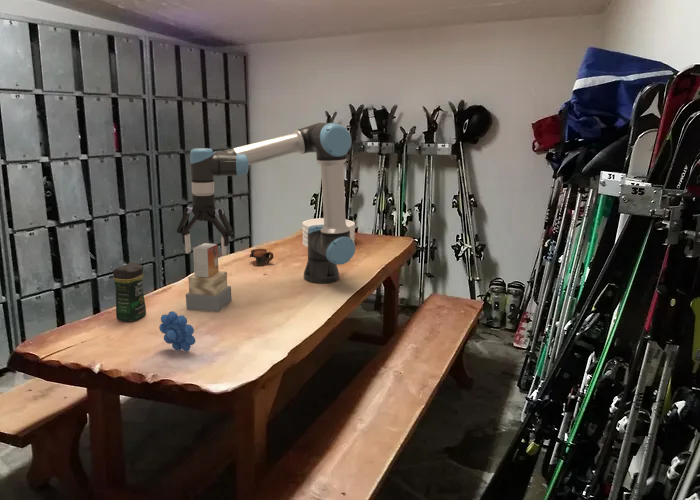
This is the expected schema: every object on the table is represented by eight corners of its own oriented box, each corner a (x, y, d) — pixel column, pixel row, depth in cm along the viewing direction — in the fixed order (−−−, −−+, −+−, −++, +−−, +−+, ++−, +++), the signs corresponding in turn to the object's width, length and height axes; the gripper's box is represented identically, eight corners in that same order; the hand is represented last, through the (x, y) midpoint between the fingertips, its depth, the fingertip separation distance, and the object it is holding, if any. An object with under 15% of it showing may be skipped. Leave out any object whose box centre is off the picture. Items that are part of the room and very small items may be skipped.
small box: (208, 278, 188) (207, 249, 186) (194, 276, 190) (192, 247, 187) (219, 271, 196) (218, 243, 193) (205, 270, 197) (203, 242, 194)
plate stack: (305, 237, 305) (305, 217, 303) (355, 238, 305) (355, 218, 302) (299, 249, 278) (299, 227, 275) (353, 250, 277) (354, 229, 275)
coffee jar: (133, 323, 177) (129, 269, 173) (112, 321, 179) (107, 267, 174) (150, 313, 186) (146, 261, 182) (130, 311, 188) (125, 260, 183)
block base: (231, 301, 201) (231, 286, 199) (218, 313, 189) (217, 296, 188) (201, 299, 202) (200, 284, 201) (186, 310, 191) (185, 294, 189)
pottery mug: (246, 267, 246) (245, 249, 248) (255, 271, 254) (254, 254, 257) (270, 262, 243) (269, 245, 245) (279, 266, 251) (277, 249, 254)
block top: (227, 287, 198) (226, 271, 197) (215, 295, 188) (215, 279, 187) (202, 285, 200) (201, 269, 198) (189, 293, 190) (188, 277, 189)
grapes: (152, 353, 156) (149, 314, 153) (166, 344, 162) (163, 306, 159) (186, 359, 153) (184, 319, 150) (200, 350, 159) (198, 311, 156)
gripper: (241, 194, 187) (243, 253, 193) (174, 191, 191) (178, 249, 197) (233, 197, 180) (235, 258, 186) (164, 194, 184) (168, 254, 189)
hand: (206, 253), depth 191 cm, fingers open, 13 cm apart
